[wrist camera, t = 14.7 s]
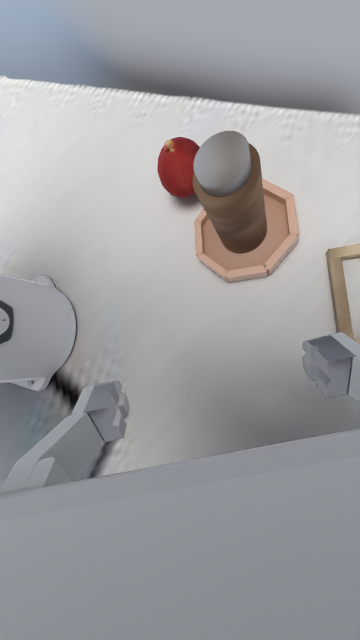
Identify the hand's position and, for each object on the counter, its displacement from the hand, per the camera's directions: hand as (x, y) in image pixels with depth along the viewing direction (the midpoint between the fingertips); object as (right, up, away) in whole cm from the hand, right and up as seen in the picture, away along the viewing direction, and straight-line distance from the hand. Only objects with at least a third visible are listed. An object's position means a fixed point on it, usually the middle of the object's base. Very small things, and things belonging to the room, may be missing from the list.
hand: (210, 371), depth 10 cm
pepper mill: (+6, +12, +17) cm, 22 cm away
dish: (+6, +12, +18) cm, 23 cm away
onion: (0, +20, +21) cm, 29 cm away
